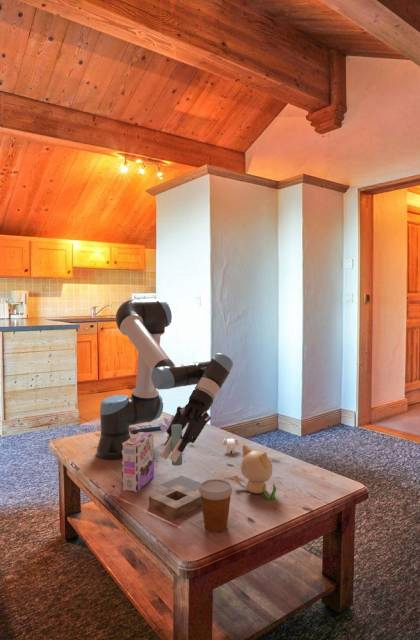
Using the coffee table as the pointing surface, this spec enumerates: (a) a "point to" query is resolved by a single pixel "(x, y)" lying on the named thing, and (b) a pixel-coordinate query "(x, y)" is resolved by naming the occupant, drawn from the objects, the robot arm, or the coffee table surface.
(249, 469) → the kitten
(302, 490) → the coffee table surface
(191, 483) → the mat
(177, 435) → the peg
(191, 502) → the hole block
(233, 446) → the elephant figurine
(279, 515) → the coffee table surface
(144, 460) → the candy box
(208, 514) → the disposable coffee cup
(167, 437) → the water lily
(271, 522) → the coffee table surface
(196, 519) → the coffee table surface
